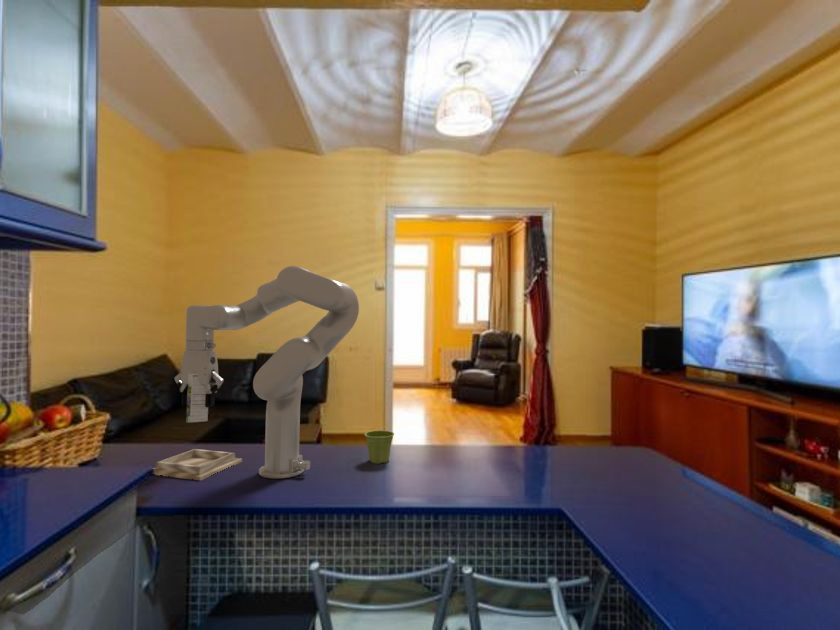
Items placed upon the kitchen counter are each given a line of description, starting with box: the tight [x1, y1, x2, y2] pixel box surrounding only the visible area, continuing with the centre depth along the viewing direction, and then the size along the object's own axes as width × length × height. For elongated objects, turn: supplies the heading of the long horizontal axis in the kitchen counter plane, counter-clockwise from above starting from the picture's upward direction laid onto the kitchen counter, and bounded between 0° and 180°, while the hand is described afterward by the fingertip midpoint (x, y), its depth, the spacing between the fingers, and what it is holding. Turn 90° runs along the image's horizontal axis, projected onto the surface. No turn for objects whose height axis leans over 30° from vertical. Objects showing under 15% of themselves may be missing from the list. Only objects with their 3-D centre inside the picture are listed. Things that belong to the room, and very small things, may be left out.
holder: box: [152, 448, 243, 481], centre depth 138 cm, size 18×18×3 cm
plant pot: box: [364, 429, 395, 464], centre depth 147 cm, size 9×9×9 cm
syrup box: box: [185, 373, 209, 423], centre depth 138 cm, size 6×6×14 cm
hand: (198, 405), depth 138 cm, fingers closed on syrup box, 7 cm apart
